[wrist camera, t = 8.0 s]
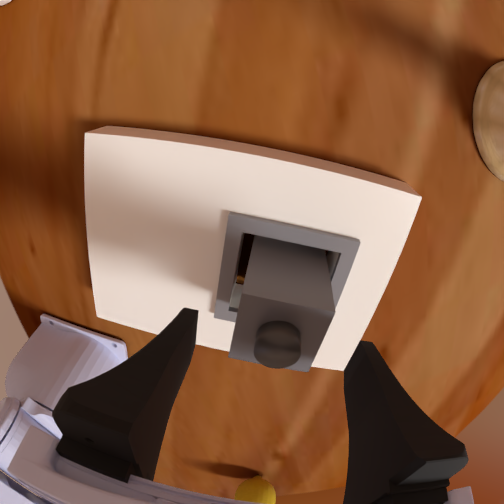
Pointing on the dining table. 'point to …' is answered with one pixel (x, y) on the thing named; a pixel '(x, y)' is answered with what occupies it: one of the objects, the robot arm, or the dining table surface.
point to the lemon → (256, 491)
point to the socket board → (231, 229)
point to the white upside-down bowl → (4, 2)
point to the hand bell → (490, 119)
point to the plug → (283, 305)
